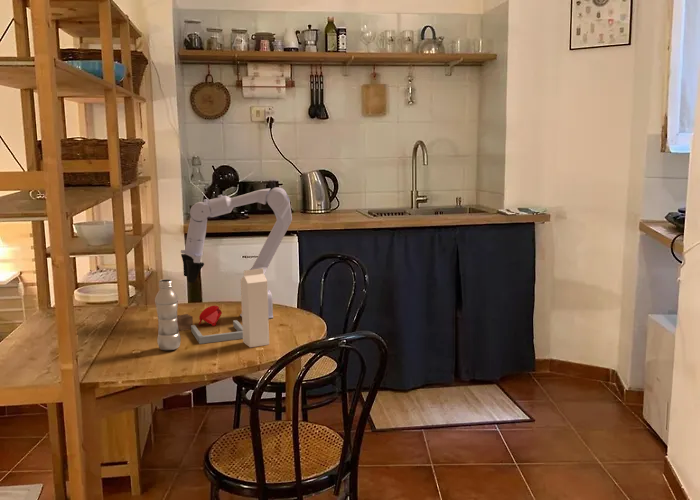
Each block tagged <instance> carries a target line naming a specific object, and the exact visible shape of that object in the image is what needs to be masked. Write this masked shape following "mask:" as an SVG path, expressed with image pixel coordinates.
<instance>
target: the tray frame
mask: <svg viewBox="0 0 700 500" xmlns="http://www.w3.org/2000/svg"><path fill="white" fill-rule="evenodd" d="M232 325H233V326H232V327H233V328H234V329H235V330H236V331H231V332H230V331H229V332H222V333H215V334H206V335H203V334H202V333H201V331H200V330H199V329H198V327H197V325H195V324H193V325H191V329H190V332H191V333H192V334H193V337H194V338H195V340H196V341H197V342H198V344H199V345H203V344H211V343H218V342H227V341H233V340H234V341H235V340H243V327H242V323H241V322H239V321H238V320H237V319H235V320H232Z"/></svg>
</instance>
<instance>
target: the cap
mask: <svg viewBox="0 0 700 500" xmlns="http://www.w3.org/2000/svg"><path fill="white" fill-rule="evenodd" d="M222 314H223V312H222V310H221V308H220V307H219V306H217V305H210V306H208V307H205V308H204V309H203V310H202V311H201V312H200V314H199V317H198V319H199V322H198V325H199V326H200V325H201V324H202V321H204V322H206V323H207V324H211V326H212V327H215V326H216V325H217V323H218V321H219V319H220V317H221V315H222Z"/></svg>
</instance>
